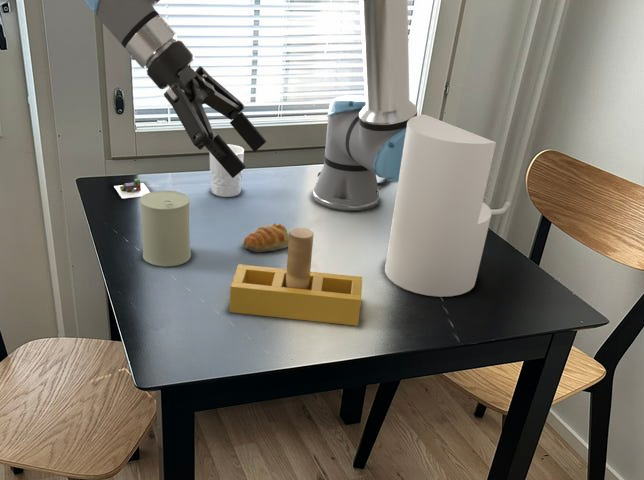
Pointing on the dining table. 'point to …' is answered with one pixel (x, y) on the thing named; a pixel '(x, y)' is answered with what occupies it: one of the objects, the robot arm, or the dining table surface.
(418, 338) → the dining table surface
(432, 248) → the cylinder
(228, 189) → the white cup
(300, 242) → the peg
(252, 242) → the pastry
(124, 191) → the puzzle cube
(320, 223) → the dining table surface
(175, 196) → the can
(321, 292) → the yellow peg holder
